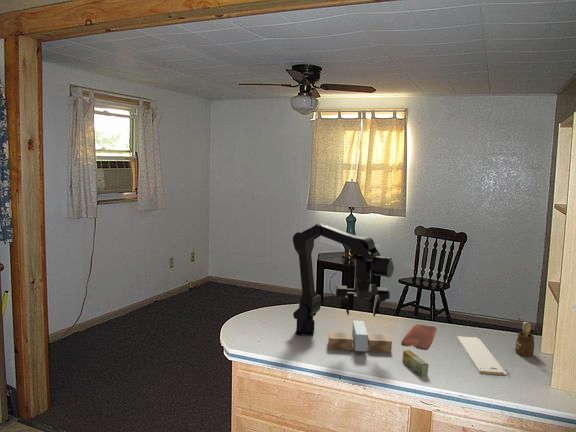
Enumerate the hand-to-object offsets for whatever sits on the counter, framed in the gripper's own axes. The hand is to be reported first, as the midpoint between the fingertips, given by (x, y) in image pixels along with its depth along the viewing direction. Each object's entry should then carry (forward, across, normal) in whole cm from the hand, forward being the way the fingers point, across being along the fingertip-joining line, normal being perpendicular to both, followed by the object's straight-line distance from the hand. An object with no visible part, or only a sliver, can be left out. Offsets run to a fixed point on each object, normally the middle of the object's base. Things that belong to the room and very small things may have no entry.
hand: (360, 315), depth 168 cm
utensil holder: (+12, +59, +2) cm, 60 cm away
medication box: (+12, +17, -15) cm, 25 cm away
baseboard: (+13, +43, -2) cm, 45 cm away
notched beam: (+12, 0, 0) cm, 12 cm away
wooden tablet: (+13, +25, +14) cm, 32 cm away
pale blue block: (+10, 0, 0) cm, 10 cm away
